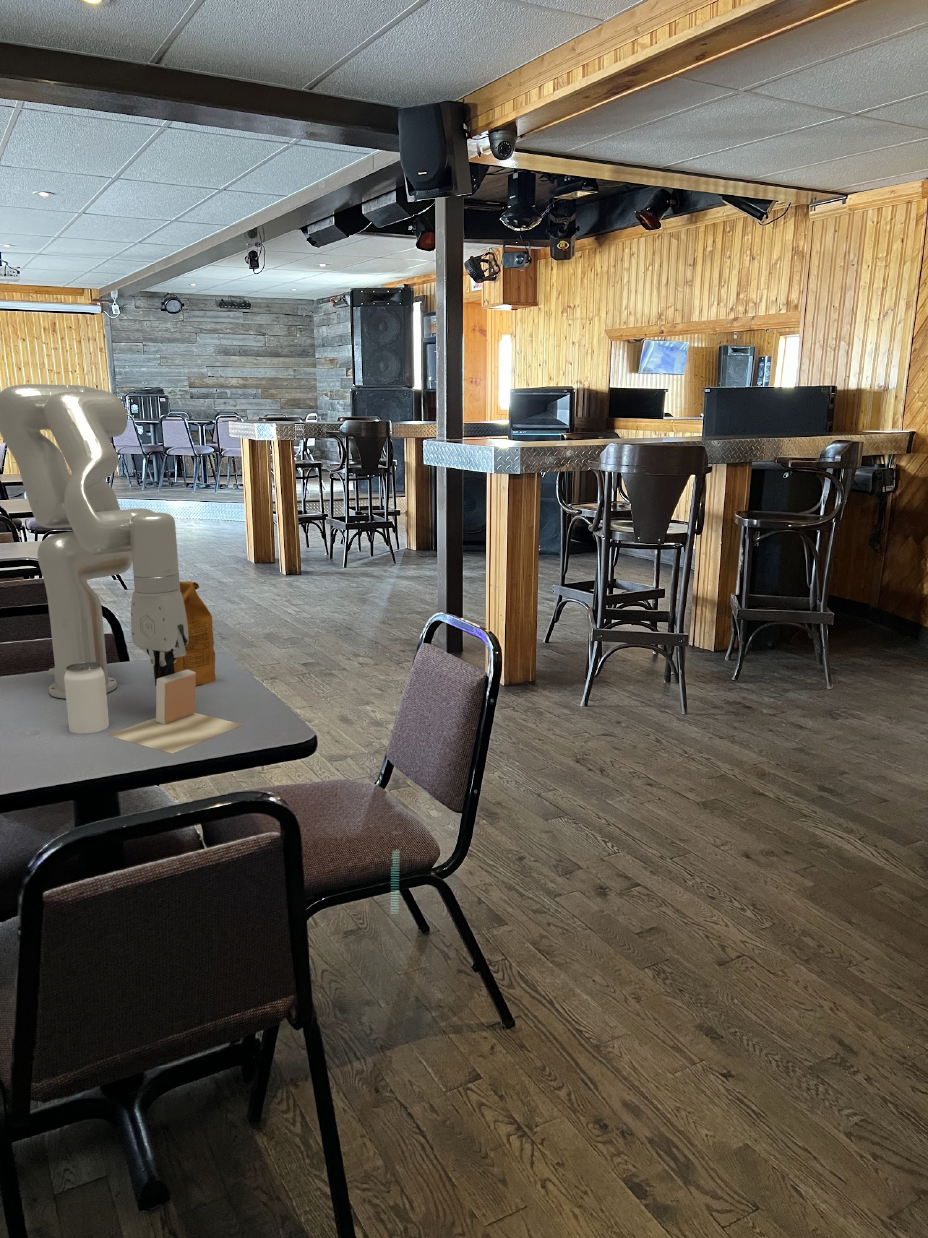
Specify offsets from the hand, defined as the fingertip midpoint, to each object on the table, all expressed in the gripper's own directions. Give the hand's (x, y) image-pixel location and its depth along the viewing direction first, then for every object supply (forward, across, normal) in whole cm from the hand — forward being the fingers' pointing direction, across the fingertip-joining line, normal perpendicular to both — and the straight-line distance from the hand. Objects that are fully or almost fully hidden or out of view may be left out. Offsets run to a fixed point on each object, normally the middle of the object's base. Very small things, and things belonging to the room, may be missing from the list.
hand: (165, 685), depth 165 cm
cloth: (+7, +7, -4) cm, 11 cm away
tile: (+6, +2, 0) cm, 6 cm away
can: (+7, -7, -11) cm, 15 cm away
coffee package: (+7, -15, +18) cm, 24 cm away
